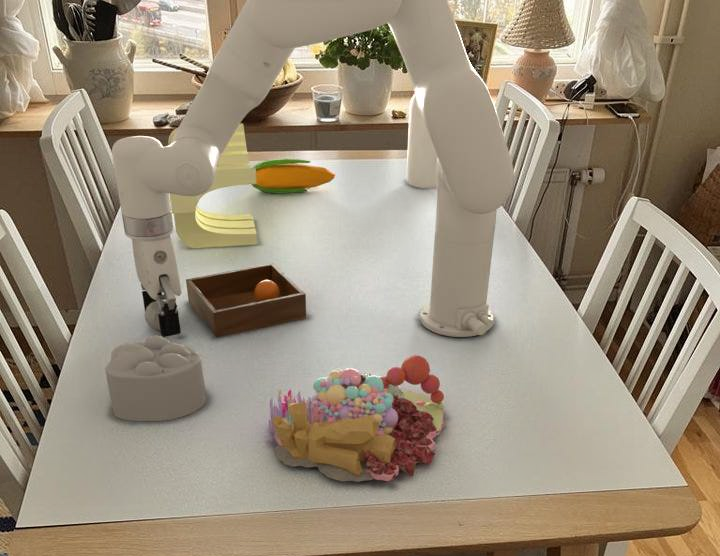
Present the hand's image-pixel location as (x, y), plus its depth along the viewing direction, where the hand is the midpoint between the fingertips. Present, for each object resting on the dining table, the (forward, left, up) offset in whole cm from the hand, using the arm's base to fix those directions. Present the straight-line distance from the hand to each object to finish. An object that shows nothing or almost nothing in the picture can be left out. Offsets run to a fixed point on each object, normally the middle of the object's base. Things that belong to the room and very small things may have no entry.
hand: (162, 322), depth 142 cm
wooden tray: (0, -15, -1) cm, 15 cm away
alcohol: (+46, -78, -1) cm, 90 cm away
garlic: (0, 0, -1) cm, 1 cm away
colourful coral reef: (-42, -15, -1) cm, 45 cm away
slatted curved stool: (+36, -22, -1) cm, 42 cm away
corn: (+54, -47, -1) cm, 71 cm away
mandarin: (0, -19, +2) cm, 19 cm away
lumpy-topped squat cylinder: (-22, +7, -1) cm, 24 cm away
